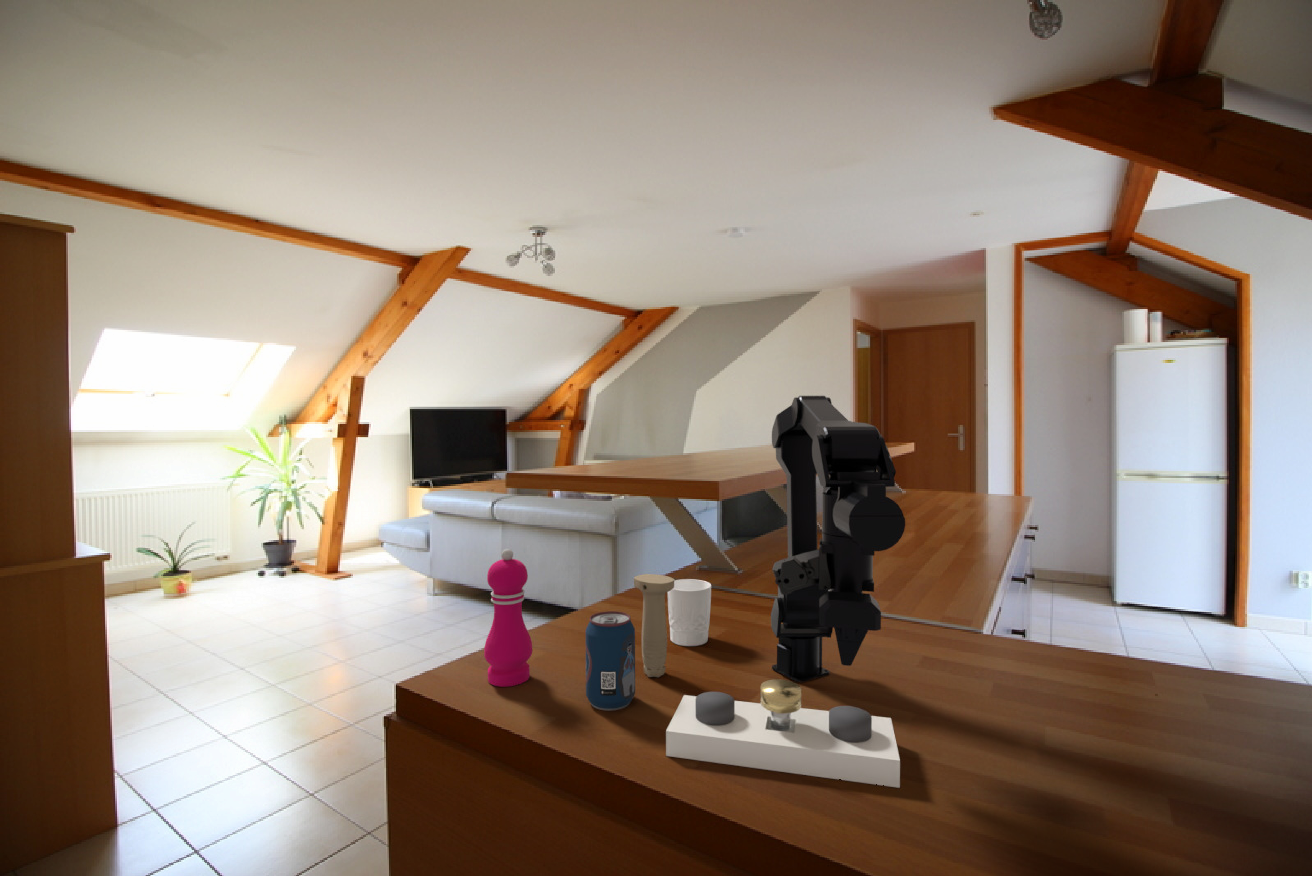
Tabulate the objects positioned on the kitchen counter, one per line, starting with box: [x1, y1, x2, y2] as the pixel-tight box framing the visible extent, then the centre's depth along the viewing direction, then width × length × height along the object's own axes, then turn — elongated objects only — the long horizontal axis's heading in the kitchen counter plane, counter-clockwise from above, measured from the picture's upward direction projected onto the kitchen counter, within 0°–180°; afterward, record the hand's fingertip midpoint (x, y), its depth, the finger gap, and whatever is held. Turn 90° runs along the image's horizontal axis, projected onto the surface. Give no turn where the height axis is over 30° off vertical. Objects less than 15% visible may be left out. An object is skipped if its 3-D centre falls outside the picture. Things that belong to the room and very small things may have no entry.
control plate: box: [665, 694, 901, 789], centre depth 77 cm, size 26×10×3 cm, turn 75°
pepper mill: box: [483, 548, 533, 688], centre depth 98 cm, size 7×7×20 cm
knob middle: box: [760, 678, 802, 731], centre depth 77 cm, size 5×5×5 cm
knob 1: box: [696, 691, 736, 725], centre depth 79 cm, size 5×5×5 cm
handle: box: [633, 573, 675, 678], centre depth 100 cm, size 5×6×15 cm
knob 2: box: [828, 705, 872, 742], centre depth 75 cm, size 5×5×5 cm
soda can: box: [585, 610, 636, 711], centre depth 90 cm, size 7×7×12 cm
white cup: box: [666, 578, 712, 647], centre depth 115 cm, size 8×8×10 cm
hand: (846, 664), depth 76 cm, fingers closed
